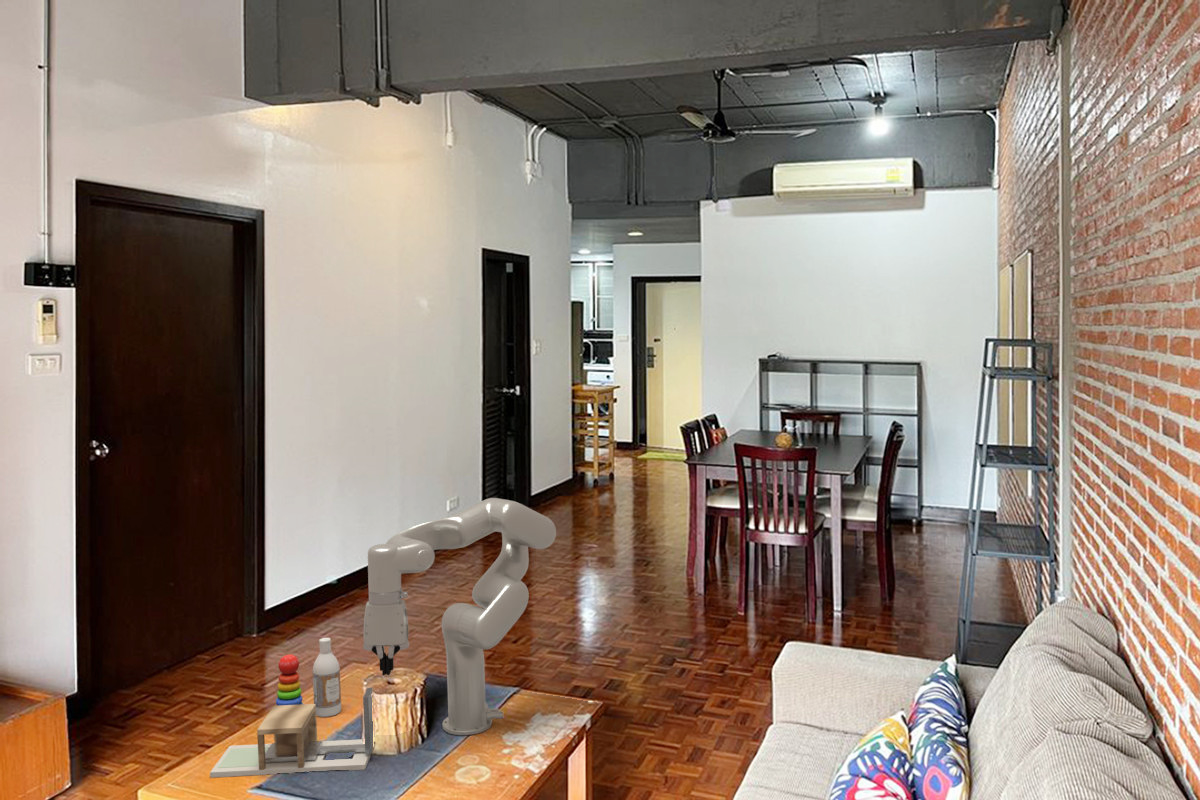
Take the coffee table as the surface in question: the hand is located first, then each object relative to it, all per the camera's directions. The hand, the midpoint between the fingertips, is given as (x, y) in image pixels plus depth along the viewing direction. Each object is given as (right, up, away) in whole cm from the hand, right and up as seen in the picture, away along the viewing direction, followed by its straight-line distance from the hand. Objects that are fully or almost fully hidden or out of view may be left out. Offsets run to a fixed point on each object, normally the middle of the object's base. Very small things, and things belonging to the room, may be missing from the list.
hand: (386, 673), depth 223 cm
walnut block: (-22, -18, 0) cm, 29 cm away
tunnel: (-23, -20, 0) cm, 30 cm away
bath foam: (-22, -19, +28) cm, 41 cm away
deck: (-22, -21, 0) cm, 30 cm away
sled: (-16, -19, +1) cm, 25 cm away
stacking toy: (-30, -20, +20) cm, 41 cm away
